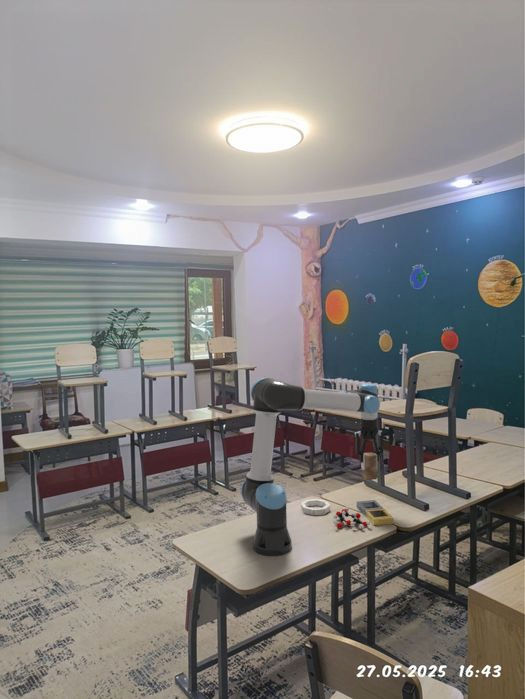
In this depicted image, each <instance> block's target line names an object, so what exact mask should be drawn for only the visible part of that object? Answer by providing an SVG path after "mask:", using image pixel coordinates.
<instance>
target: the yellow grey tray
mask: <svg viewBox="0 0 525 699" xmlns="http://www.w3.org/2000/svg"><path fill="white" fill-rule="evenodd" d="M356 508H357V509H358V510H359V511H360V513H361V514H362V515H363V516H364V517H365V518H366V519H367V521H370V524H371V525H373V526H381V525H393V524H394V523H395V522H394V521H395V520H394V517H393V516H392V515H391V513H389V512H388V511H387V510H386V509H385V508H384V507H383V506H382V505H381V504H379V502H378V501H377V500H376V499H373V500H372V499H370V500H361V501H356Z"/></svg>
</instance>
